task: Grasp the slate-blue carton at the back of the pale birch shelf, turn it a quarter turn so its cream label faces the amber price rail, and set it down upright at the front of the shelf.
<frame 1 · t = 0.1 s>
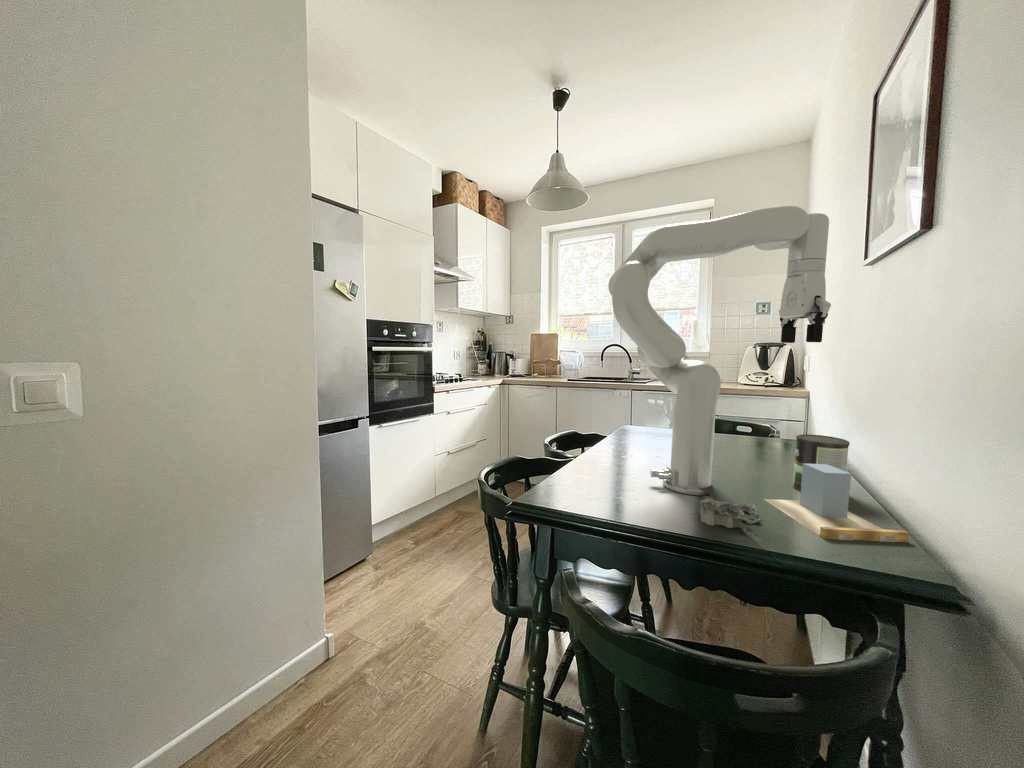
hand: (800, 342, 103), 37 cm above the table, tool pointing down, fingers open, 9 cm apart
shelf: (826, 525, 86), on the table
carton: (822, 510, 90), point 1 cm above the table, touching shelf
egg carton: (727, 523, 87), on the table
coffee can: (817, 497, 103), on the table
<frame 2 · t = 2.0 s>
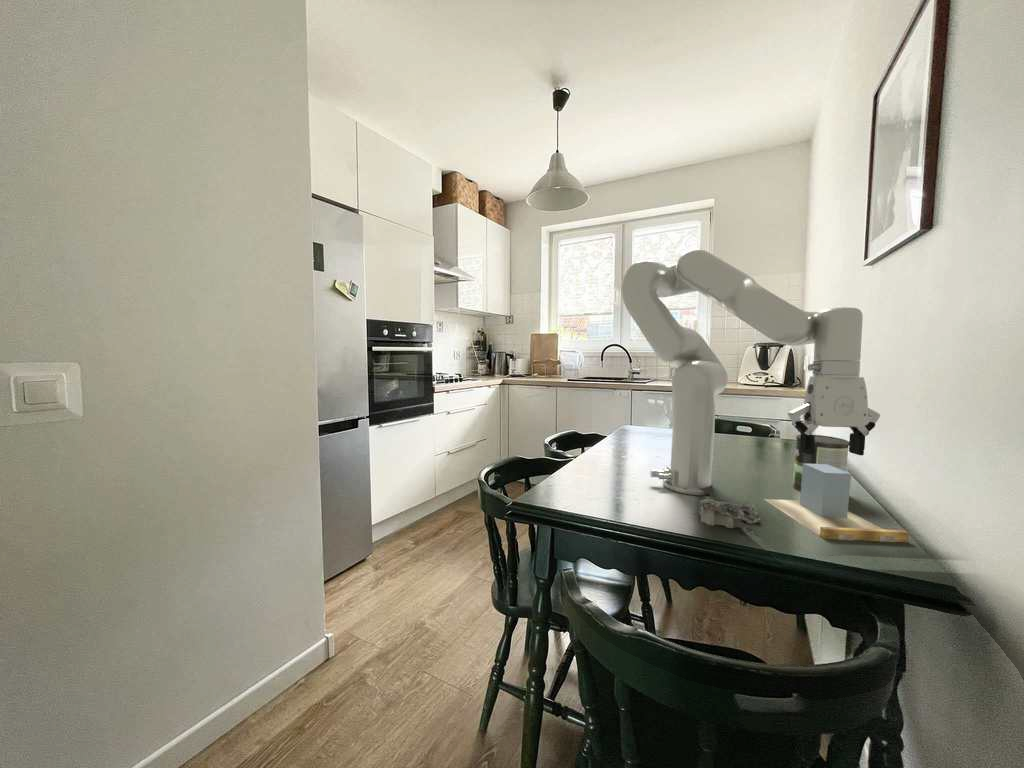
hand: (831, 453, 88), 14 cm above the table, tool pointing down, fingers open, 9 cm apart
nothing on the table moved.
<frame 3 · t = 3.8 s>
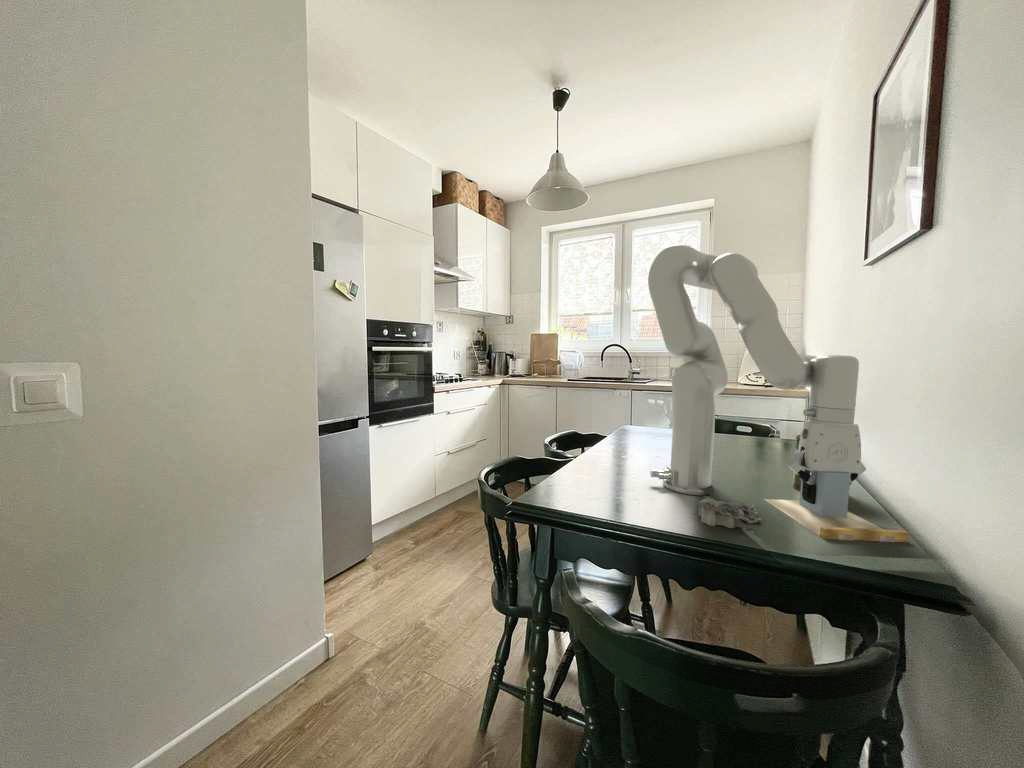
hand: (823, 501, 89), 4 cm above the table, tool pointing down, fingers closed on carton, 5 cm apart
carton: (822, 510, 90), point 2 cm above the table, touching gripper, shelf
everything else where it was.
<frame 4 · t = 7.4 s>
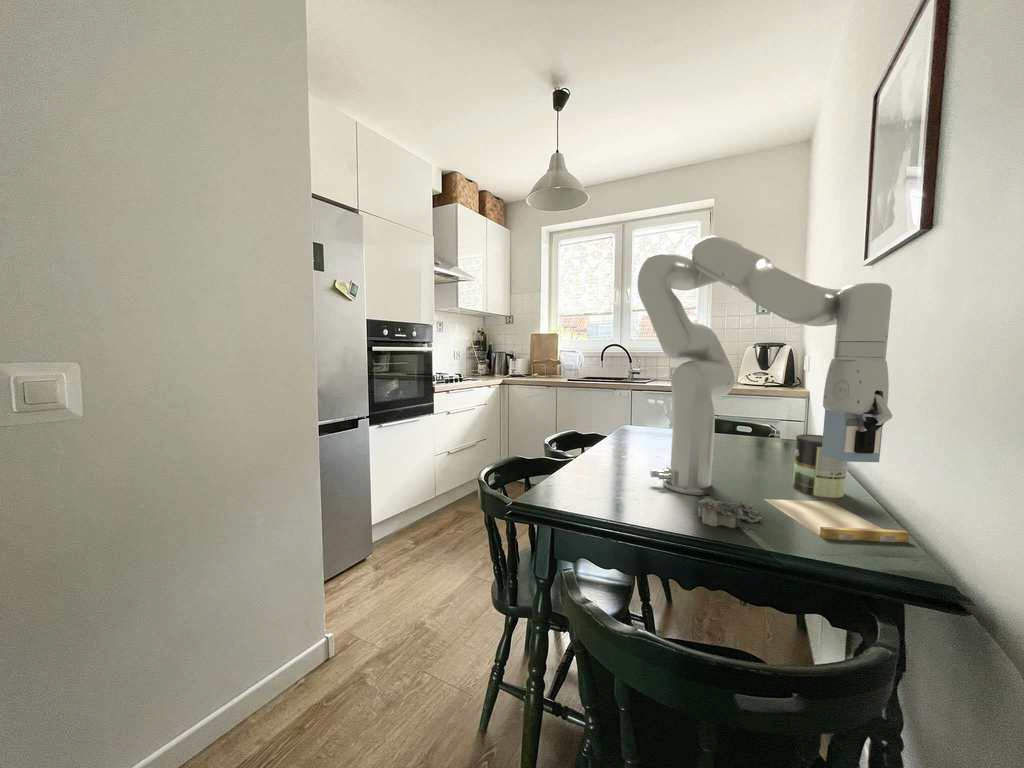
hand: (850, 448, 81), 16 cm above the table, tool pointing down, fingers closed on carton, 5 cm apart
carton: (849, 458, 81), point 14 cm above the table, touching gripper
everything else where it was.
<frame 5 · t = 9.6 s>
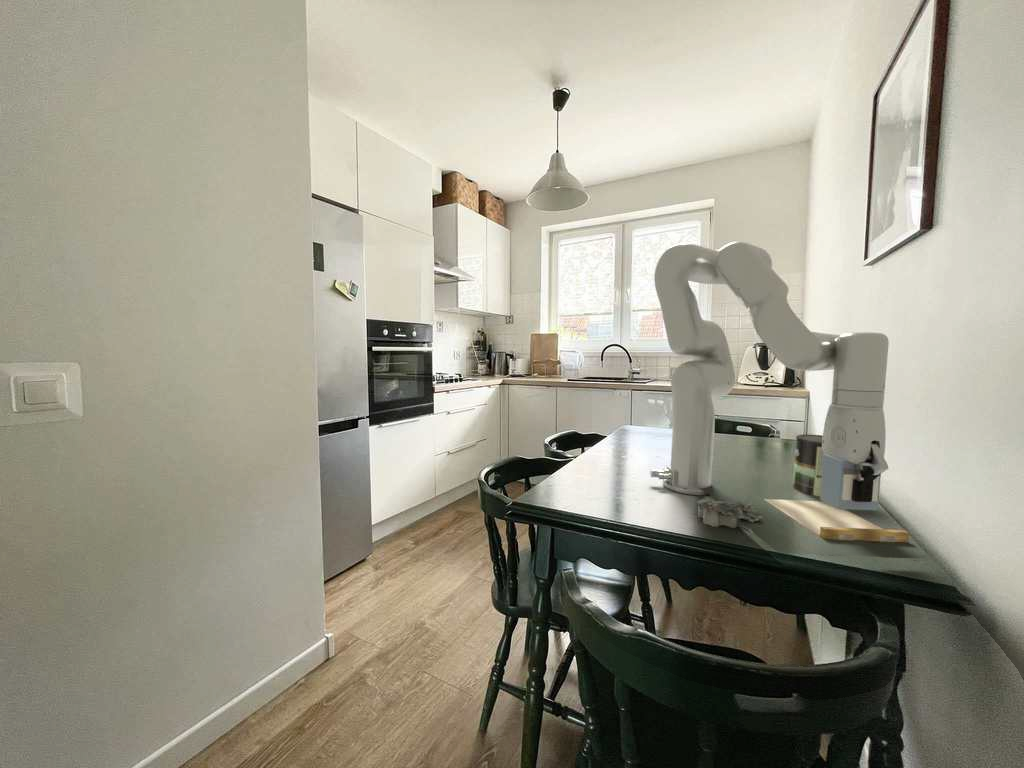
hand: (849, 494, 81), 8 cm above the table, tool pointing down, fingers closed on carton, 5 cm apart
carton: (847, 504, 81), point 6 cm above the table, touching gripper
everything else where it was.
when the fingers open (5 cm above the table, at t = 11.2 s): carton drops 1 cm, resting on shelf.
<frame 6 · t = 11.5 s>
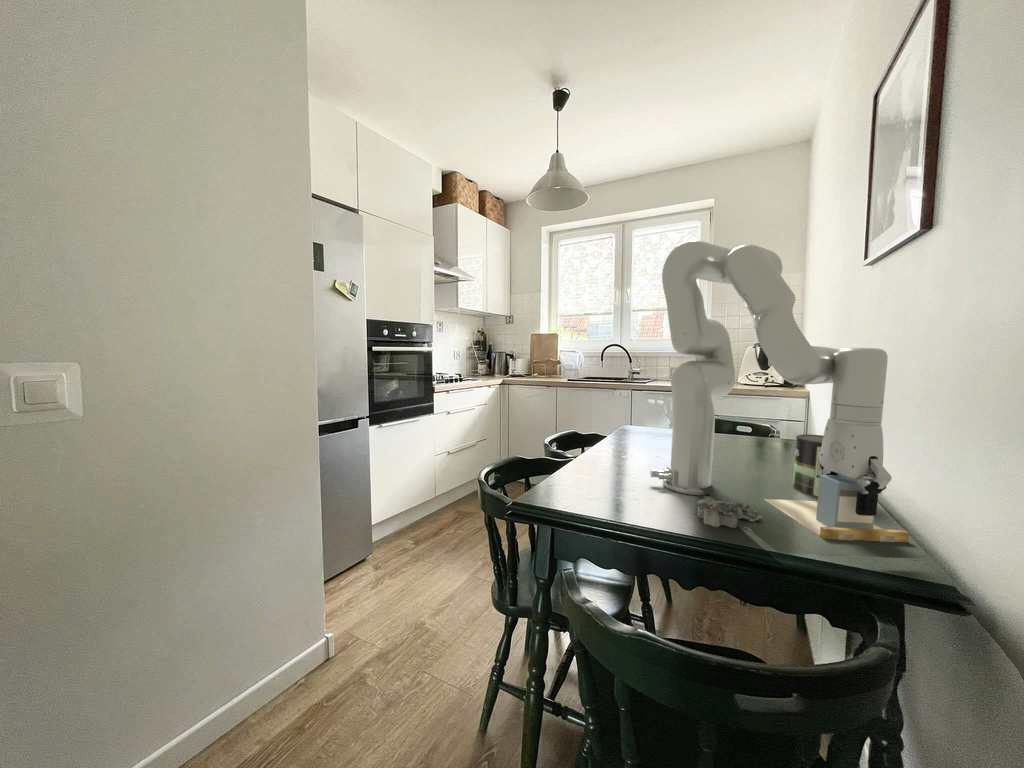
hand: (847, 505, 81), 6 cm above the table, tool pointing down, fingers open, 8 cm apart
carton: (843, 525, 82), point 1 cm above the table, touching shelf
everything else where it was.
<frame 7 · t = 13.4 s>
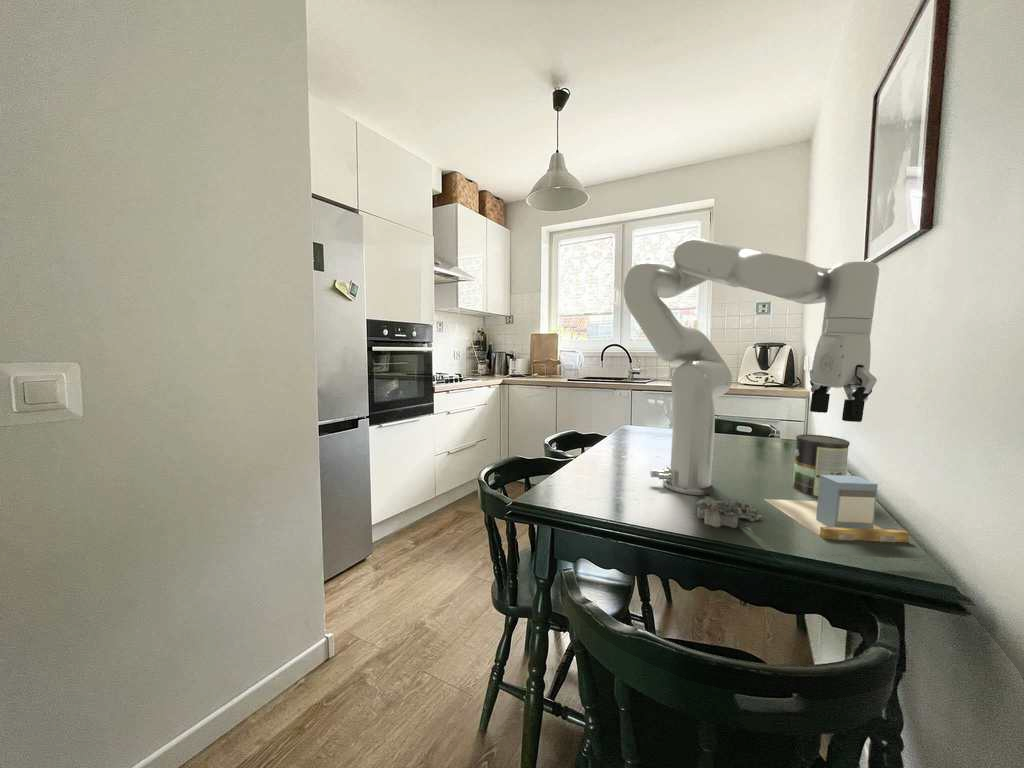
hand: (834, 416, 85), 22 cm above the table, tool pointing down, fingers open, 9 cm apart
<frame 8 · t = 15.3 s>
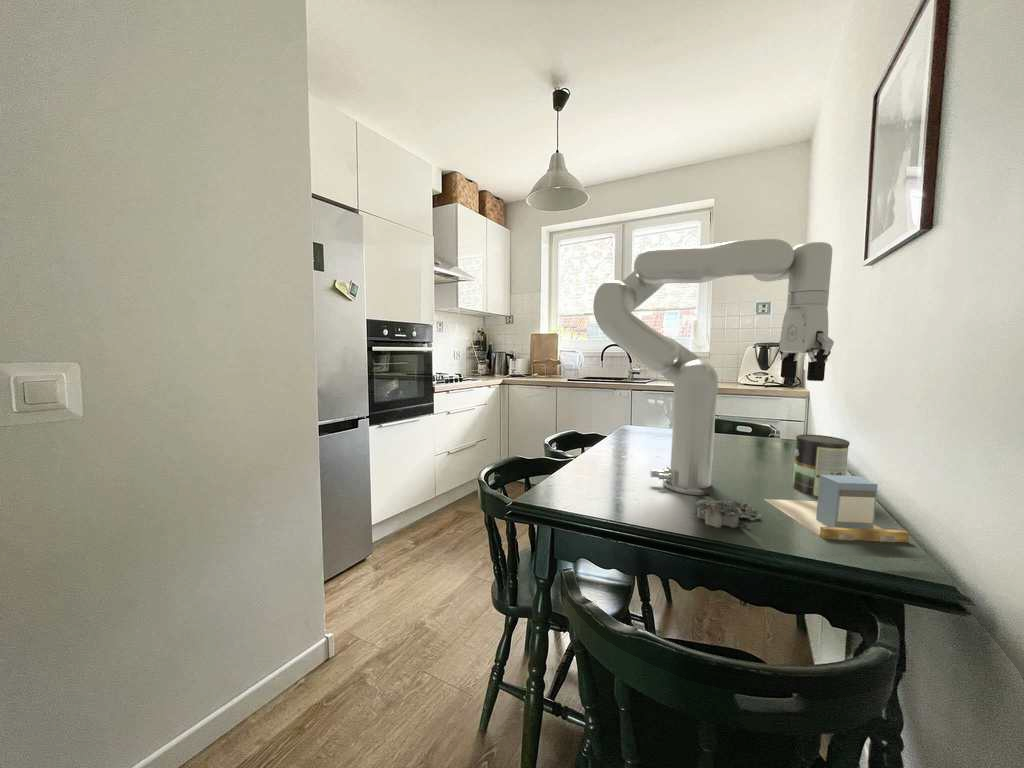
hand: (801, 379, 96), 28 cm above the table, tool pointing down, fingers open, 9 cm apart
at the end: carton inside the target area (0.4 cm from its centre), point 1.5 cm above the table; carton tilted 0°; the gripper is holding nothing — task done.
